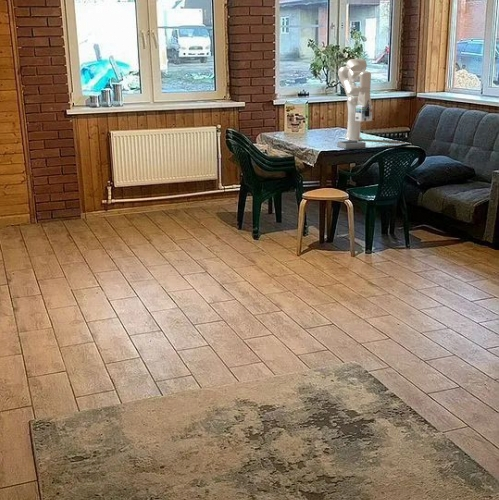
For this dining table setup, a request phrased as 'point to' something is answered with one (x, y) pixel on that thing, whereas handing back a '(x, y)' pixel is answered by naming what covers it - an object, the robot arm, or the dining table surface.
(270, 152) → the dining table surface
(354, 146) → the sorting tray
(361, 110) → the light bulb box
